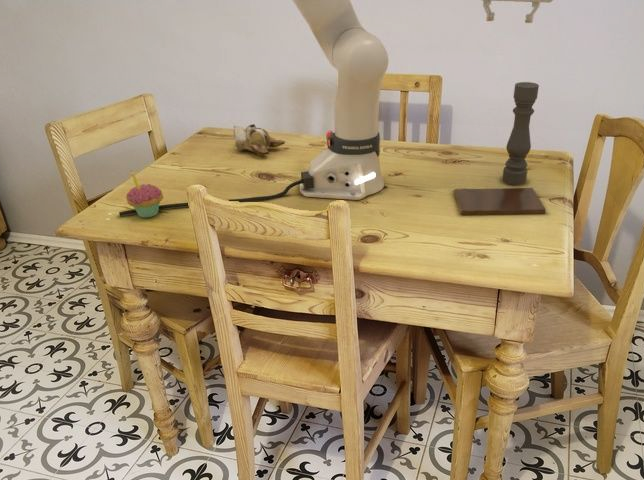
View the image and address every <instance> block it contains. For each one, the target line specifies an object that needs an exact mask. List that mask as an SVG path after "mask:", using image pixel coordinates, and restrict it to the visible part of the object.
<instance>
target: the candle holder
mask: <svg viewBox="0 0 644 480" xmlns="http://www.w3.org/2000/svg"><path fill="white" fill-rule="evenodd" d="M539 87H540V85H539V84H538V83H537V82H530V81H521V82H516V83H515V84H514V90H513V99H514V101H513V102H514V105H515V107H513V109H512V113H513V114H514V119H513V120H514V121H513V127H512V129H511V132H510V136H509V138H508V140H507V143H506V146H505V147H506V148H505V149H506V152H507V155H508V159H507V160H506V161H505V163H504V165H505V166H504V167H503V170H502V178H501V180H502V183H504V184H506V185H509V186H522V185H526V183H527V177H528V168H527V167H528V163H527V161H526V158H527V155H528V154H529V153H530V151H531V148H532V142H531V133H530V124H531V118H532V115H533V114H534V113H535V109H534V108H533V107H534V104H535V103H536V101H537V99H538V94H539Z"/></svg>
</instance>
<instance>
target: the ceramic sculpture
mask: <svg viewBox="0 0 644 480" xmlns="http://www.w3.org/2000/svg"><path fill="white" fill-rule="evenodd" d="M233 137H234V141H235V142H234V143H235V147H236V149H237V150H238V151H242V152H243V151H244V150H247V151H250V152H253V153H255V154H256V155H258V156H265V155H270V152H269V150H268V149H269V148H278V147H280V146H283V145H285V143H286V142H285V141H279V140H277V139H276V138H275V137H272V136H270V134H269V133H268V132H267V130H265V128H262V127H257V126H256V125H255V124H250V125H248V126H246V128H244V127H243V126H237V125H233Z"/></svg>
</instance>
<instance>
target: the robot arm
mask: <svg viewBox="0 0 644 480" xmlns="http://www.w3.org/2000/svg"><path fill="white" fill-rule="evenodd" d="M292 2H293V3H294V5H295V6H296V8H297V9H298V11H299V13H300V14H301V16H302V17H303V19H304V20H305V22H306V24H307V26H308V27H309V29H310V31H311V32H312V34H313V36H314V38H315V40H316V41H317V44H318V45H319V47H320V48H321V50H322V52H323V54H324V55H325V57H326V59H327V60H328V62H329V64H330V65H331V66H332V67H333V68H334V69H336V71H337V88H336V94H335V99H334V100H333V119H334V122H333V123H334V132H333V130H327V132H326V133H325V138H326V145H327V146H326V149H325V150H323V151H321V152H320V153H319V154H318V155H317V156H315V157H314V158H312V160H311V162H310V163H309V166H308V168H307V170H306V171H301V172H300V179H299V180H297V181H294V182H292V183H290V184H288V185H287V186H286V187H285V188H284V190H283V191H281V192H279V193H276V194H272V195H263V196H253V197H244V198H243V197H242V198H233V199H232V198H231V199H228V200H229V201H239V202H240V203H248V202H257V201H268V200H273V199H279V198H281V197H283V196H286V195H287V194H288V192H289V191H290V190H291V189H292V188H294V187H297V186H298V185H299V193H301V195H302V196H304V197H307V198H322V199H338V200H351V201H359V200H363V199H364V198H366V197H367V196H370V195H373V194H376V193H378V192H380V191H382V190H383V189H384V187H385V181H384V178H383V175H382V170H381V164H380V163H381V162H380V154H381V136H380V135H381V134H380V131H379V102H380V94H381V89H382V84H383V79H384V75H385V74H386V73H387V70H388V67H389V53H388V51H387V49H386V47H385V46H384V43H382V41H381V39H380V38H379V37H377V36H376V35H374V34H373V33H370V32H369V31H368V30H366V29H365V27H364V26H363V25H362V23H361V21H360V20H359V18H358V15H357V14H356V12H355V9H354V6H353V5H352V2H351V0H292ZM492 2H517V3H518V2H519V3H520V2H521V3H531V8H533V9H532V10H531V12H530V13H527V14H526V15H525V20H524V23H525V24H532V23H533V21H534V15H535V14H536V12H537V11H538V9H539V8H540V7H541V3H552V2H554V0H482V7H483V10H484V12H485V13H486V19H485V21H486V22H494V21H495V16H496V15H495V12H492V10H491V7H490V5H492ZM184 207H189V206H188V202H179V203H178V202H177V203H170V204H161V205H160V204H159V210H166V209H174V208H175V209H176V208H184ZM118 214H119V217H122V216H128V215H133V214H138V213H137V211H136V210H135V208H133V209H129V210H122V211H119V212H118Z"/></svg>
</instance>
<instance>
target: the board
mask: <svg viewBox="0 0 644 480" xmlns="http://www.w3.org/2000/svg"><path fill="white" fill-rule="evenodd" d="M453 194H454V197H455V201H456V203H457V207H458V209H459V212H460V215H461V216H488V215H489V216H491V215H493V216H494V215H495V216H496V215H500V216H501V215H545V214H546V208H545V206H544V204H543V203H542V201H541V200H540V198H539V196H538V195H537V193H536V190H535V189H534V188H533V187H514V188H513V187H511V188H510V187H505V188H503V187H502V188H501V187H500V188H455V189H454V190H453Z"/></svg>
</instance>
